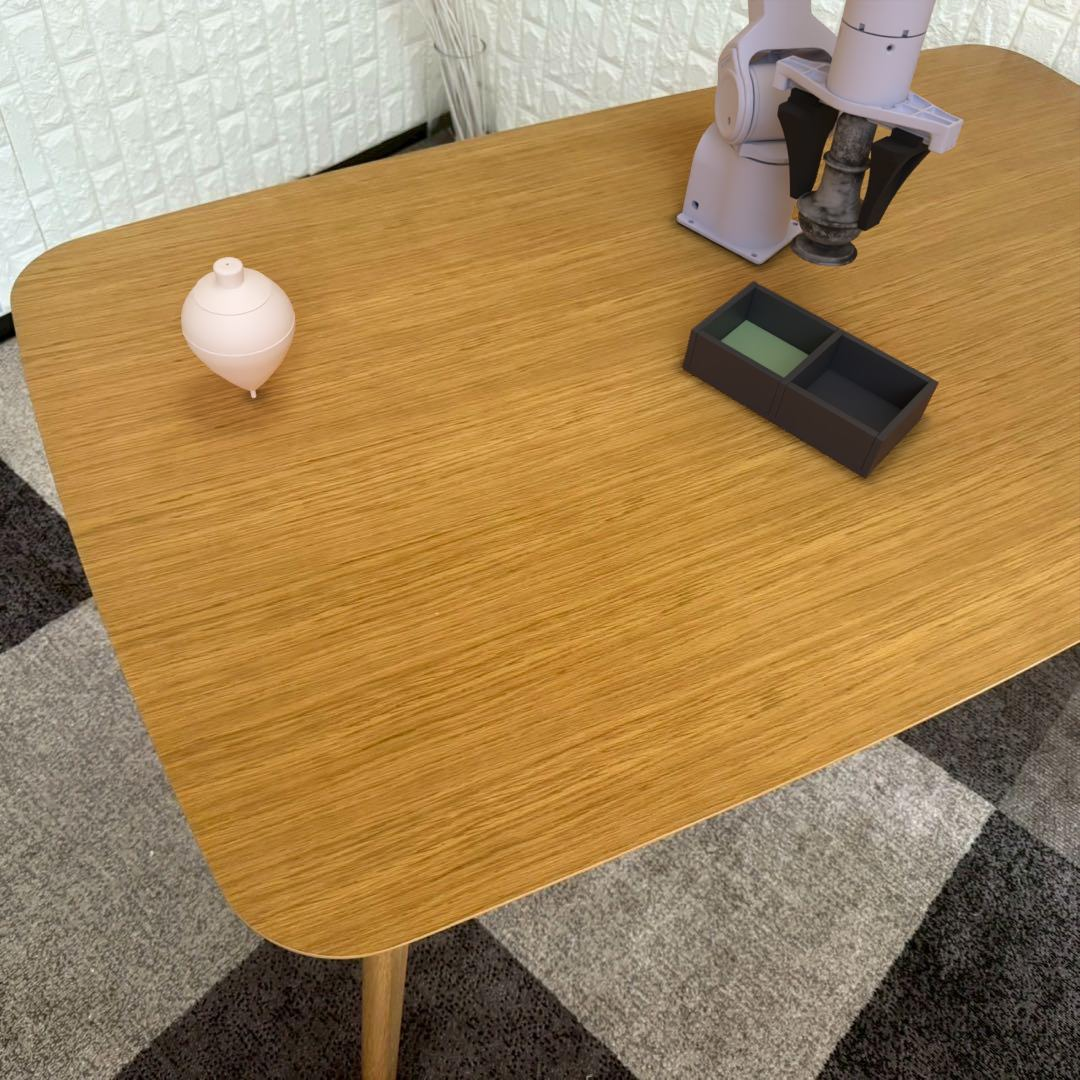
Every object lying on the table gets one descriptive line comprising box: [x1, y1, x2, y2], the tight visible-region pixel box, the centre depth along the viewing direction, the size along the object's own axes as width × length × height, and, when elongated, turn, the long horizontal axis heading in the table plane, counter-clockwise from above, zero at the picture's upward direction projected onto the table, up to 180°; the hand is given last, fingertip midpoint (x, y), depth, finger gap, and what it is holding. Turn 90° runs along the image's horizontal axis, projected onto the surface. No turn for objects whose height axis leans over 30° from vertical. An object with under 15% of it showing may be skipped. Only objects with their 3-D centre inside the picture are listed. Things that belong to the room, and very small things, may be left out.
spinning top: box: [180, 256, 296, 399], centre depth 72 cm, size 8×8×12 cm
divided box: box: [682, 280, 940, 479], centre depth 79 cm, size 17×9×4 cm, turn 49°
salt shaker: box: [790, 112, 878, 268], centre depth 77 cm, size 6×6×12 cm
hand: (834, 210), depth 79 cm, fingers closed on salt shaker, 6 cm apart
